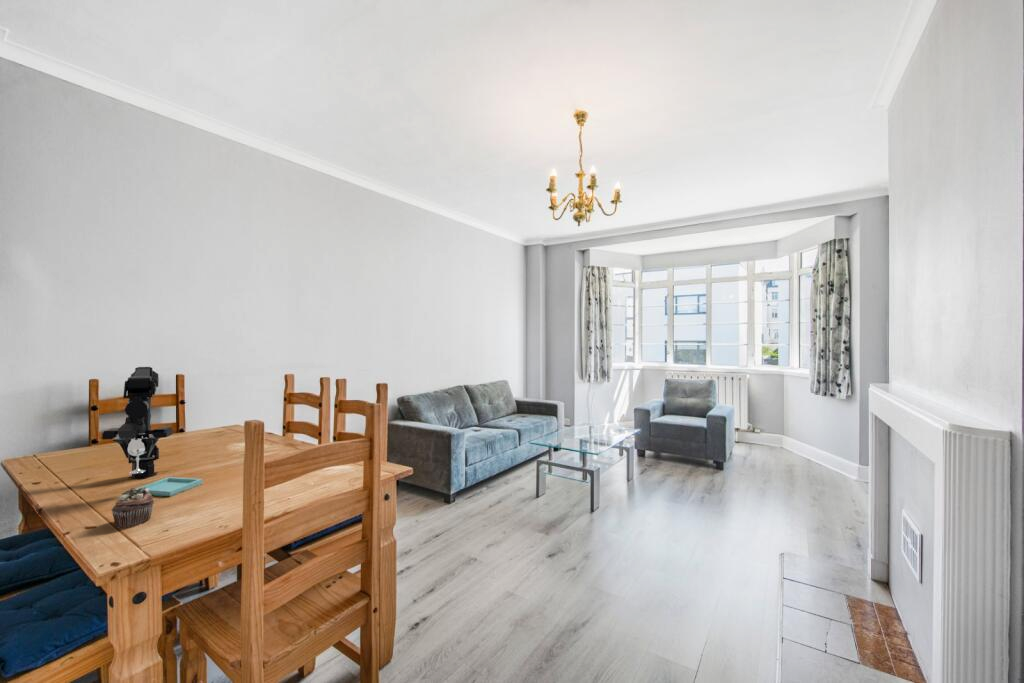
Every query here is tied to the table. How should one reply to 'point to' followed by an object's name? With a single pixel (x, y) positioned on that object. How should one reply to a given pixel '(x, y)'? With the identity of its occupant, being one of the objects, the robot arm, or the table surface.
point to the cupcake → (133, 508)
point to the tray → (171, 486)
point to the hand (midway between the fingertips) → (137, 457)
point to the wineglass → (137, 450)
